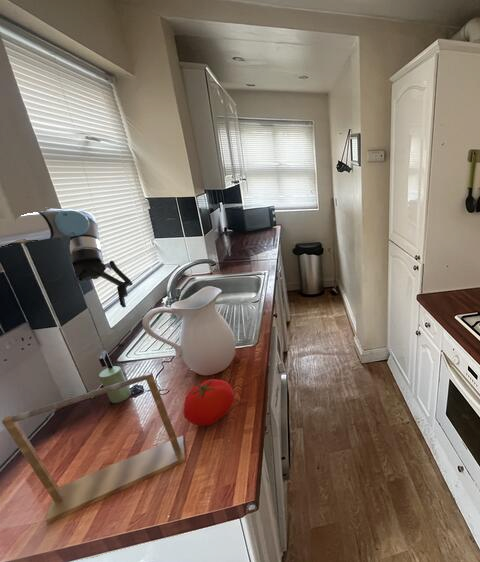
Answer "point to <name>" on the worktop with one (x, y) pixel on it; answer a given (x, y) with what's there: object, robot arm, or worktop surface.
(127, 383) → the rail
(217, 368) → the pitcher
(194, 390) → the tomato
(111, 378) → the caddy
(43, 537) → the worktop surface
